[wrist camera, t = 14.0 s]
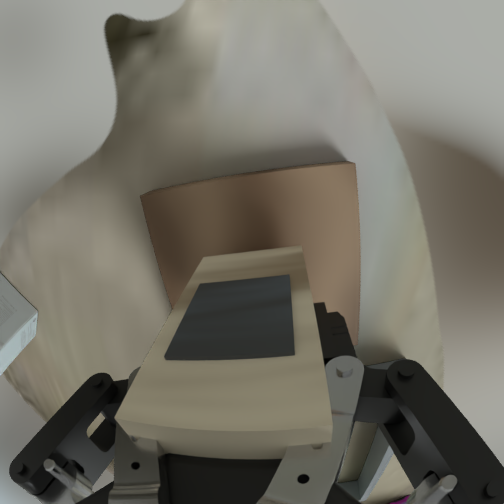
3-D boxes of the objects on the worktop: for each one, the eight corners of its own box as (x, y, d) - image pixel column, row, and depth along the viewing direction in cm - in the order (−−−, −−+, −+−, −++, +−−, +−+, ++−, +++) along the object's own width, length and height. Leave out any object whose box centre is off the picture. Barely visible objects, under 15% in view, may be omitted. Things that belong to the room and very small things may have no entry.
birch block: (202, 254, 15) (111, 414, 5) (301, 242, 14) (332, 421, 5) (223, 333, 16) (181, 490, 7) (308, 326, 16) (324, 494, 6)
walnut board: (195, 345, 21) (190, 358, 20) (150, 191, 17) (140, 195, 15) (353, 331, 19) (357, 344, 18) (348, 161, 15) (355, 163, 14)
